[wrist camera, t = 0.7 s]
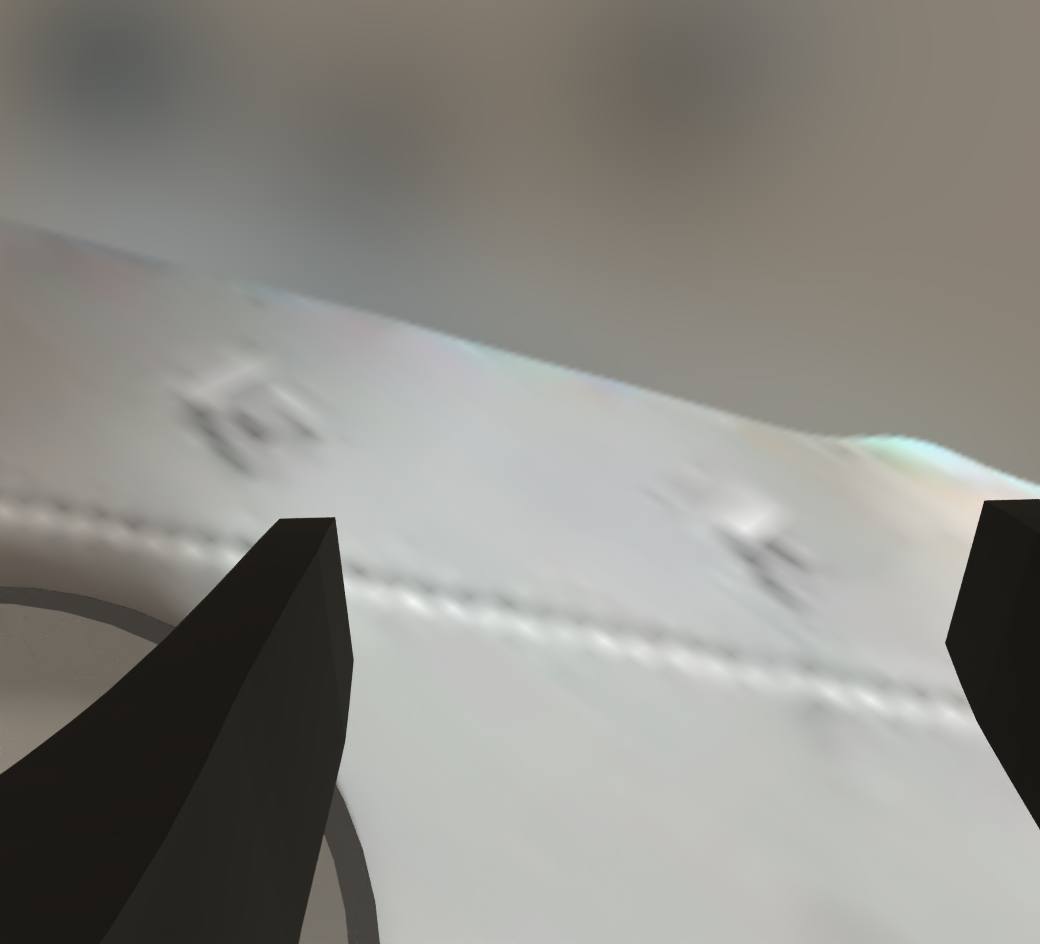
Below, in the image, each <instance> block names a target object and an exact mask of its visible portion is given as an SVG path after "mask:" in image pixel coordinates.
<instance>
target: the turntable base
mask: <svg viewBox="0 0 1040 944" xmlns="http://www.w3.org/2000/svg"><path fill="white" fill-rule="evenodd" d="M0 604H16V605H23V606H29V607H36V608H43V609H49V610H56V611H63V612H67V613H70V614H74V615H77V616H81V617H85V618H88V619H92V620H95V621H99V622H103V623H106V624H110V625H113V626H115V627H117V628H120V629H122V630H124V631H127V632H129V633H132V634H134V635H136V636H139V637H141V638H143V639H146V640H148V641H151V642H153V643H155V644H157V645H158V644H159V643H161V642H162V641H163V640H164V639H165V638H166V637H167V636H168V635H169V634H170V633H171V632H172V631H173V630H174V629H175V628H176V627H173V626H171V625H169V624H166V623H164V622H162V621H159V620H157V619H154V618H152V617H150V616H147V615H145V614H143V613H140V612H138V611H136V610H133V609H129V608H126V607H122V606H119V605H115V604H111V603H108V602H104V601H101V600H97V599H94V598H90V597H87V596H81V595H75V594H68V593H62V592H55V591H48V590H42V589H35V588H15V587H0ZM324 835H325V838H326V841H327V843H328V846H329V849H330V851H331V854H332V857H333V860H334V864H335V869H336V873H337V877H338V882H339V886H340V891H341V895H342V899H343V904H344V908H345V915H346V926H347V936H348V944H380V941H379V932H378V923H377V914H376V905H375V899H374V895H373V891H372V887H371V882H370V878H369V874H368V870H367V866H366V861H365V857H364V853H363V849H362V846H361V844H360V841H359V838H358V836H357V833H356V830H355V828H354V825H353V823H352V820H351V817H350V815H349V812H348V809H347V807H346V804H345V801H344V800H343V798H342V796H341V794H340V792H339V790H338V788H337V786H336V785H335V788H334V793H333V797H332V802H331V806H330V810H329V814H328V819H327V823H326V827H325V831H324Z"/></svg>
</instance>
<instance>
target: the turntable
mask: <svg viewBox="0 0 1040 944" xmlns="http://www.w3.org/2000/svg"><path fill="white" fill-rule="evenodd" d="M156 646H157V644H155V643H153V642H151V641H148V640H146V639H143V638H141V637H139V636H136V635H134V634H132V633H129V632H127V631H124V630H122V629H120V628H117V627H115V626H113V625H110V624H106V623H103V622H99V621H95V620H92V619H88V618H85V617H81V616H77V615H74V614H70V613H67V612H63V611H56V610H49V609H43V608H36V607H29V606H23V605H16V604H0V774H1V773H3V772H4V771H6V770H7V769H8V768H10V767H11V766H12V765H14V764H15V763H17V762H18V761H19V760H21V759H22V758H23V757H25V756H26V755H27V754H29V753H30V752H31V751H33V750H34V749H35V748H37V747H38V746H39V745H41V744H42V743H43V742H44V741H46V740H47V739H48V738H50V737H51V736H52V735H54V734H55V733H56V732H58V731H59V730H60V729H61V728H63V727H64V726H65V725H67V724H68V723H69V722H71V721H72V720H73V719H74V718H76V717H77V716H78V715H79V714H80V713H82V712H83V711H84V710H85V709H87V708H88V707H89V706H90V705H91V704H93V703H94V702H95V701H96V700H97V699H99V698H100V697H101V696H102V695H103V694H105V693H106V692H107V691H108V690H109V689H110V688H112V687H113V686H114V685H115V684H116V683H117V682H118V681H119V680H120V679H121V678H122V677H124V676H125V675H126V674H127V673H128V672H129V671H130V670H131V669H132V668H133V667H134V666H136V665H137V664H138V663H139V662H140V661H141V660H142V659H143V658H144V657H145V656H146V655H147V654H149V653H150V652H151V651H152V650H153V649H154V648H155V647H156ZM299 944H348V936H347V926H346V915H345V908H344V904H343V899H342V895H341V891H340V886H339V882H338V877H337V873H336V869H335V864H334V860H333V857H332V854H331V851H330V849H329V846H328V843H327V841H326V838H325V835H324V836H323V840H322V844H321V848H320V853H319V857H318V861H317V866H316V870H315V874H314V878H313V883H312V887H311V891H310V895H309V900H308V904H307V908H306V912H305V917H304V921H303V925H302V930H301V935H300V940H299Z"/></svg>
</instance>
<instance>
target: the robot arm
mask: <svg viewBox="0 0 1040 944" xmlns="http://www.w3.org/2000/svg"><path fill="white" fill-rule="evenodd" d="M945 644H946V647H947V649H948V652H949V655H950V657H951V660H952V662H953V665H954V668H955V670H956V673H957V675H958V678H959V680H960V683H961V686H962V688H963V690H964V693H965V695H966V697H967V700H968V702H969V704H970V707H971V709H972V711H973V713H974V716H975V718H976V720H977V722H978V724H979V726H980V728H981V730H982V731H983V733H984V735H985V737H986V739H987V740H988V742H989V744H990V746H991V747H992V749H993V751H994V752H995V754H996V756H997V758H998V759H999V761H1000V763H1001V765H1002V766H1003V768H1004V770H1005V771H1006V773H1007V775H1008V777H1009V778H1010V780H1011V782H1012V783H1013V785H1014V787H1015V789H1016V790H1017V792H1018V794H1019V795H1020V797H1021V799H1022V800H1023V802H1024V804H1025V805H1026V807H1027V809H1028V810H1029V812H1030V814H1031V815H1032V817H1033V819H1034V821H1035V822H1036V824H1037V826H1038V827H1039V829H1040V499H1025V500H987V501H984V504H983V508H982V511H981V515H980V518H979V522H978V526H977V529H976V533H975V537H974V540H973V544H972V548H971V551H970V555H969V558H968V562H967V566H966V569H965V573H964V577H963V580H962V584H961V588H960V591H959V595H958V598H957V602H956V606H955V609H954V613H953V617H952V620H951V624H950V628H949V631H948V635H947V638H946V642H945ZM353 661H354V660H353V652H352V644H351V636H350V629H349V621H348V613H347V605H346V598H345V590H344V582H343V574H342V566H341V559H340V551H339V543H338V535H337V528H336V520H335V517H327V518H288V519H279V520H278V521H277V522H276V523H275V524H274V525H273V526H272V527H271V528H270V529H269V530H268V531H267V532H266V533H265V534H264V535H263V536H262V537H261V538H260V539H259V540H258V542H257V543H256V544H255V545H254V546H253V547H252V548H251V549H250V550H249V551H248V552H247V553H246V555H245V556H244V557H243V558H242V559H241V560H240V561H239V562H238V563H237V564H236V565H235V566H234V568H233V569H232V570H231V571H230V572H229V573H228V574H227V575H226V576H225V577H224V578H223V579H222V580H221V581H220V582H219V584H218V585H217V586H216V587H215V588H214V589H213V590H212V591H211V592H210V593H209V594H208V595H207V596H206V597H205V598H204V599H203V600H202V601H201V602H200V603H199V604H198V605H197V606H196V607H195V608H194V609H193V610H192V611H191V612H190V613H189V615H188V616H187V617H186V618H185V619H184V620H183V621H182V622H181V623H180V624H179V625H178V626H177V627H176V628H175V629H174V630H173V631H172V632H171V633H170V634H169V635H168V636H167V637H166V638H165V639H164V640H163V641H162V642H161V643H159V644H158V645H157V646H156V647H155V648H154V649H153V650H152V651H151V652H150V653H149V654H147V655H146V656H145V657H144V658H143V659H142V660H141V661H140V662H139V663H138V664H137V665H136V666H134V667H133V668H132V669H131V670H130V671H129V672H128V673H127V674H126V675H125V676H124V677H122V678H121V679H120V680H119V681H118V682H117V683H116V684H115V685H114V686H113V687H112V688H110V689H109V690H108V691H107V692H106V693H105V694H103V695H102V696H101V697H100V698H99V699H97V700H96V701H95V702H94V703H93V704H91V705H90V706H89V707H88V708H87V709H85V710H84V711H83V712H82V713H80V714H79V715H78V716H77V717H76V718H74V719H73V720H72V721H71V722H69V723H68V724H67V725H65V726H64V727H63V728H61V729H60V730H59V731H58V732H56V733H55V734H54V735H52V736H51V737H50V738H48V739H47V740H46V741H44V742H43V743H42V744H41V745H39V746H38V747H37V748H35V749H34V750H33V751H31V752H30V753H29V754H27V755H26V756H25V757H23V758H22V759H21V760H19V761H18V762H17V763H15V764H14V765H12V766H11V767H10V768H8V769H7V770H6V771H4V772H3V773H1V774H0V944H299V940H300V935H301V930H302V925H303V921H304V917H305V912H306V908H307V904H308V900H309V895H310V891H311V887H312V883H313V878H314V874H315V870H316V866H317V861H318V857H319V853H320V848H321V844H322V840H323V836H324V831H325V827H326V823H327V819H328V814H329V810H330V806H331V802H332V797H333V793H334V788H335V784H336V780H337V775H338V771H339V767H340V762H341V758H342V753H343V749H344V744H345V738H346V730H347V721H348V712H349V703H350V692H351V682H352V672H353Z"/></svg>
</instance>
